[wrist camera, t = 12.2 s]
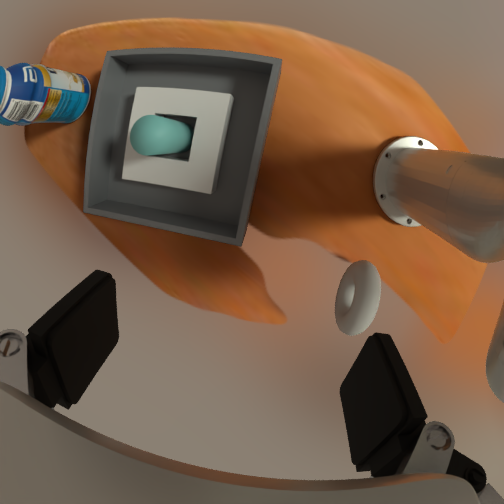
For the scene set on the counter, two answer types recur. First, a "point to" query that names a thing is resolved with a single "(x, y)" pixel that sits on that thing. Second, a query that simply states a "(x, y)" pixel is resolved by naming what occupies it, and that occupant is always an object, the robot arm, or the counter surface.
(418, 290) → the counter surface
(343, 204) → the counter surface
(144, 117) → the peg
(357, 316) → the donut
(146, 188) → the open box
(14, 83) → the beverage bottle
